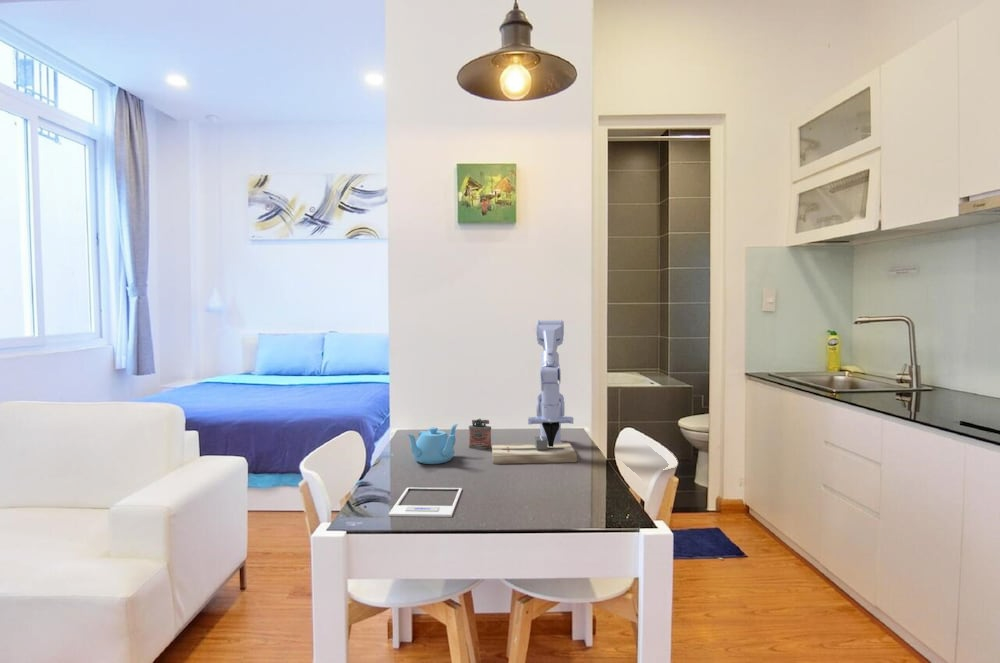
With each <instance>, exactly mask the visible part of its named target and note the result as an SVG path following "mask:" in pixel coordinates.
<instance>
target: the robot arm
mask: <svg viewBox="0 0 1000 663" xmlns="http://www.w3.org/2000/svg"><path fill="white" fill-rule="evenodd" d="M535 327H536V329H535V331H536V333H535V334H536V341H537V344H538V345H539V346H541V347H542V348H543V352H542V354H541V368H540V370H539V379H540V380H539V382H540V389H541V390H540V391H541V393H538V395H537V397H536V416H534V417H533V416H532V417H531V416H530V417H529V416H528V417H527V424H528V425H540V429H539V430H540V432H539V433H540V434H539V437H540V436H546V438H547V442H548V446H549V447H553V444H554V443H563V441H562V438H561V437H562V427H561V425H562V424H571V425H572V424H574V416H566V415H565V397H564V395H563V394H562V393H560V385H561V377H562V376H561V373H562V372H561V367H560V356H559V352H558V351H557V349H558V347H560V346H561V345H562V344H563V342H564V336H565V333H564V332H565V328H564V327H565V323H564V320H563V319H559V320H558V319H556V320H555V319H553V320H551V319H549V320H542V319H540V320H539V319H537V320H536V326H535Z"/></svg>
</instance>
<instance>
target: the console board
mask: <svg viewBox="0 0 1000 663" xmlns="http://www.w3.org/2000/svg"><path fill="white" fill-rule="evenodd" d="M491 447H492V448H491V452H492V453H491V454H492V456H491V457H492V464H493V465H496V464H497V465H498V464H499V465H500V464H501V465H502V464H505V465H506V464H507V465H508V464H541V463H542V464H545V463H547V464H550V463H553V464H554V463H578V453H577V452H576V451H575V448H574V447H573V446H572V445H571V443H570V442H562V443H554V444H553V447H549V446H548V450H536V447H535V442H533V443H531V442H530V443H491Z"/></svg>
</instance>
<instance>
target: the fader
mask: <svg viewBox="0 0 1000 663" xmlns="http://www.w3.org/2000/svg"><path fill="white" fill-rule="evenodd" d="M534 443H535V447H536V450H548V442H547V438H546V436H540V435H539V436H534Z"/></svg>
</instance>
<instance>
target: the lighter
mask: <svg viewBox="0 0 1000 663" xmlns="http://www.w3.org/2000/svg"><path fill="white" fill-rule="evenodd" d="M471 424H472V425H468V431H469V432H468V433H469V435H468V436H469V444H468V448H469V449H472V450H489V451H490V450H492V431H491V430H492V426H490V425H489V424H490V419H481V418H478V419H471Z"/></svg>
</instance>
